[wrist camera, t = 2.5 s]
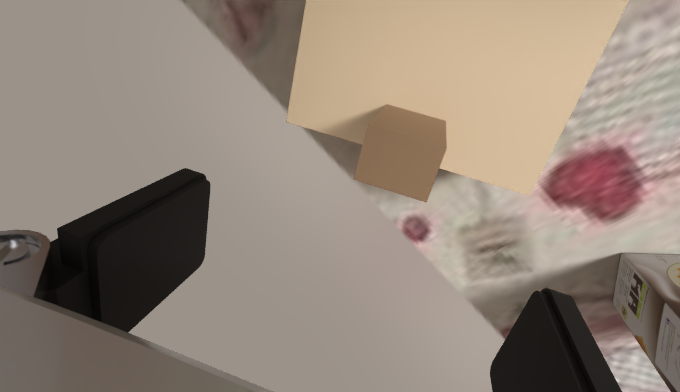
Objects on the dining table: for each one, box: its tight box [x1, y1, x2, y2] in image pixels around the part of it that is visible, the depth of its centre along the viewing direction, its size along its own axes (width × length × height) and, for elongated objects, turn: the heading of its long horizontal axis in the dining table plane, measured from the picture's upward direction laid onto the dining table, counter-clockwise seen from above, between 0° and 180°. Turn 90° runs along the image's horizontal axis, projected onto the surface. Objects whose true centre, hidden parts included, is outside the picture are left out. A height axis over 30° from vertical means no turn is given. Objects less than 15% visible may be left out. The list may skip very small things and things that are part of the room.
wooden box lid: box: [286, 0, 629, 202], centre depth 19 cm, size 18×14×8 cm
